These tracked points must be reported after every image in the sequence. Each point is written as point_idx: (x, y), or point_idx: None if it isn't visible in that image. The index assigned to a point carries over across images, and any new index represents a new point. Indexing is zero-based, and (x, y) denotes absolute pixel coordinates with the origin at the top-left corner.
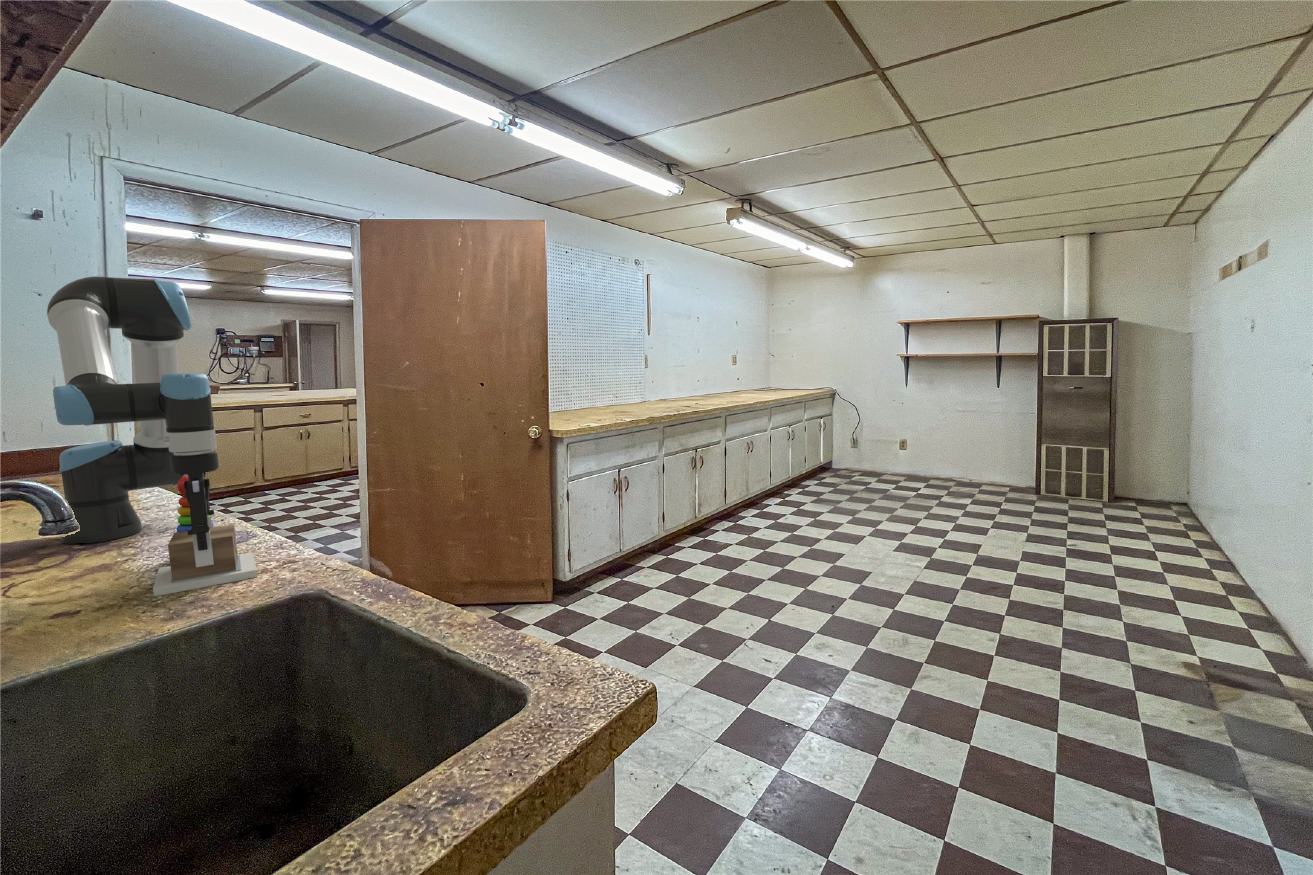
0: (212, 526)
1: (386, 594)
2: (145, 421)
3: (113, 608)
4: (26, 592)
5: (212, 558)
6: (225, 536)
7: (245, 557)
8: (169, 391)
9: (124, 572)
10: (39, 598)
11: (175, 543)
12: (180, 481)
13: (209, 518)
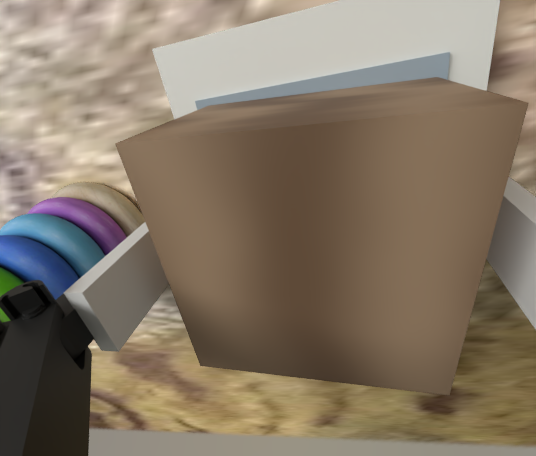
0: (10, 238)
1: None
2: None
3: (479, 349)
4: (246, 425)
5: (519, 187)
6: (498, 157)
7: (224, 71)
8: None
9: (186, 339)
10: (293, 418)
11: (441, 375)
12: None
13: (94, 291)
